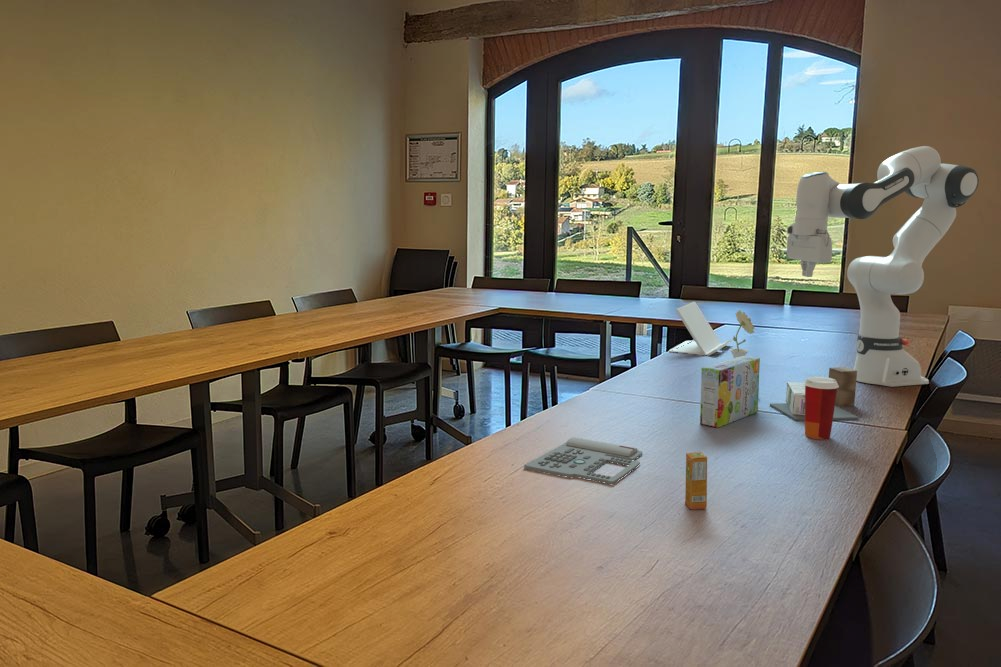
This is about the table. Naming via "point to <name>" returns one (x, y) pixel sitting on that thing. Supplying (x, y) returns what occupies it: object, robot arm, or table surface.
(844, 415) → the mat
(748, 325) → the flower in vase
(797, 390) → the syrup box
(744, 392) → the snack box
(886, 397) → the table surface
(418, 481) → the table surface
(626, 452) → the office telephone
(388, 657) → the table surface
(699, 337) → the tablet stand
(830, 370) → the walnut block
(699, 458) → the supplement box
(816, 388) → the paper cup
